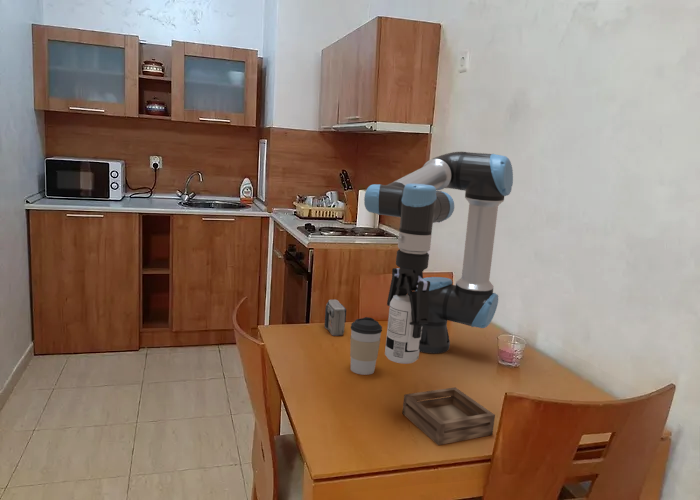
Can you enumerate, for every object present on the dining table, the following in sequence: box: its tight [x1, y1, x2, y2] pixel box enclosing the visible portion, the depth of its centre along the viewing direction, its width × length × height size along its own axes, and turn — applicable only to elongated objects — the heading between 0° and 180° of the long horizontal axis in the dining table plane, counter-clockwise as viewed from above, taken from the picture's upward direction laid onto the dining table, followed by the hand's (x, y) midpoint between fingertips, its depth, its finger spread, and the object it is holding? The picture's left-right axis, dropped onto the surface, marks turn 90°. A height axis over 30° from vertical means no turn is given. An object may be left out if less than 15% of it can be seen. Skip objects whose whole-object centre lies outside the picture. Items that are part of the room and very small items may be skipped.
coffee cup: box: [349, 316, 383, 376], centre depth 161 cm, size 9×9×15 cm
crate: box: [401, 387, 496, 446], centre depth 134 cm, size 15×15×5 cm
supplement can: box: [384, 294, 422, 365], centre depth 134 cm, size 8×8×15 cm
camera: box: [324, 299, 347, 337], centre depth 193 cm, size 11×6×10 cm, turn 14°
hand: (403, 343), depth 135 cm, fingers closed on supplement can, 8 cm apart
